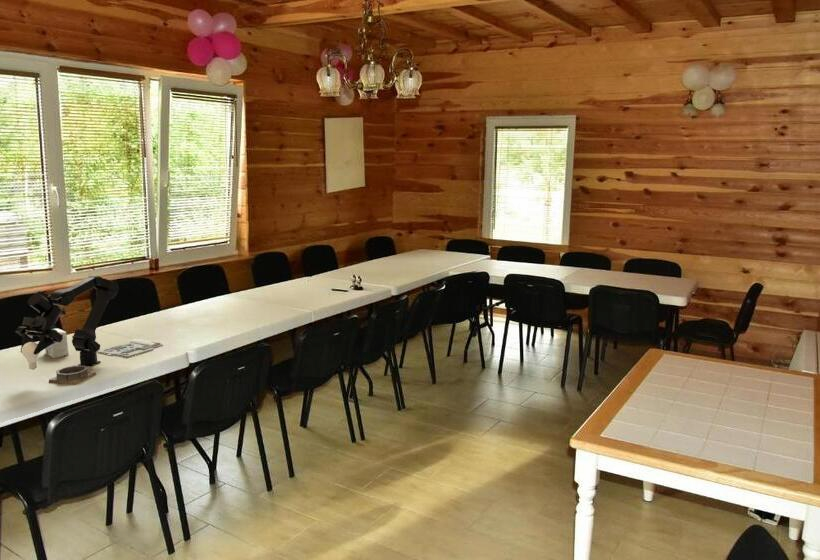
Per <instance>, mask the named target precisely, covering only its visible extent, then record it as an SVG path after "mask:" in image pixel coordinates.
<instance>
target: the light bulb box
mask: <svg viewBox="0 0 820 560" xmlns="http://www.w3.org/2000/svg"><path fill="white" fill-rule="evenodd" d="M52 330H56V331H57V332H59V333H60V334H61V335H63V339H62V341H61V343H60V342H55V341H54V342H55V344H52V345H50V346H48V347H47V348H45V349H44V352H45V354H46V355H48V356H49V357H51V358H53V359H54V358H55V357H56V358H60V356H61V357H64V355H66V356H69V354H70V353H69V346H68V338H67V331H64V330H63V329H60V328H57V327H55V328H52ZM56 358H55V359H56Z"/></svg>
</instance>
